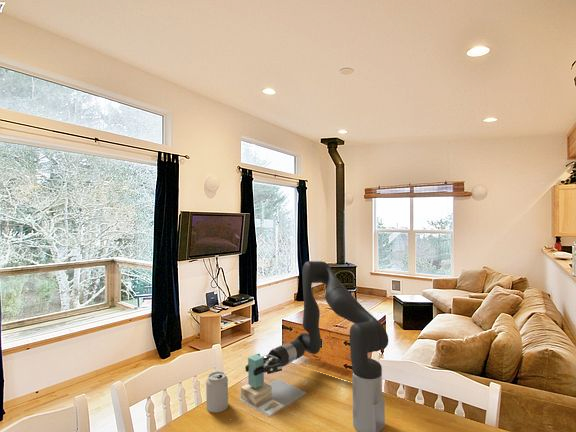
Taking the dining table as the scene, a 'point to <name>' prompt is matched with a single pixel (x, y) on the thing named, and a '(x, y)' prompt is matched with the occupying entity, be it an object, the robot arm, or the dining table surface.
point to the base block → (256, 393)
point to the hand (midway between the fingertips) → (250, 370)
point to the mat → (278, 397)
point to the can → (217, 392)
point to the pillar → (253, 363)
